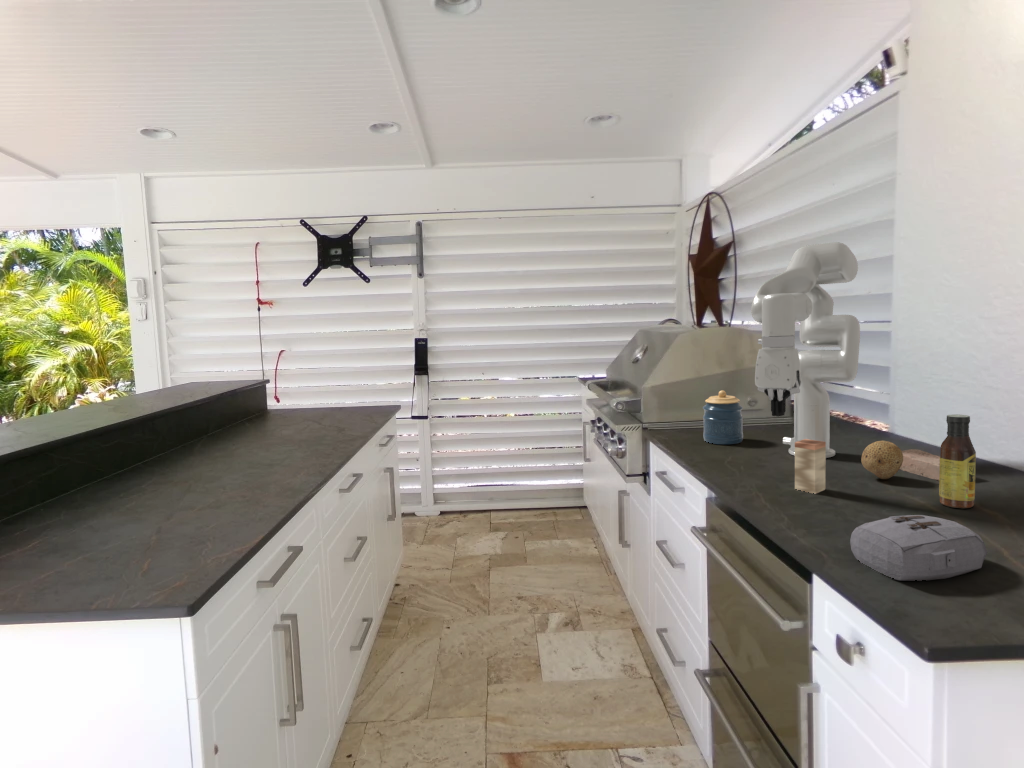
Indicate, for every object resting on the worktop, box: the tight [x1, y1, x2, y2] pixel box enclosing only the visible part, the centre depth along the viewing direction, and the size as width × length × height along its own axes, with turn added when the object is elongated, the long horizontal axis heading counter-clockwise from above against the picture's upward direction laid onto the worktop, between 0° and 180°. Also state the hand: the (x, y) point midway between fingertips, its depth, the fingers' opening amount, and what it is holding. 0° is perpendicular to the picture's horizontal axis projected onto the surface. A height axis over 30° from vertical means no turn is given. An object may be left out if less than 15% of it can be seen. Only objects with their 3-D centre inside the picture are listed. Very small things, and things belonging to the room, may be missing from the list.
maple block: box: [794, 439, 827, 495], centre depth 143 cm, size 5×5×12 cm
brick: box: [899, 448, 940, 481], centre depth 152 cm, size 17×8×5 cm, turn 11°
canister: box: [702, 389, 744, 445], centre depth 200 cm, size 13×13×18 cm
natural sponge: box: [860, 440, 903, 480], centre depth 148 cm, size 9×9×10 cm
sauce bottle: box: [938, 414, 977, 509], centre depth 127 cm, size 7×6×20 cm
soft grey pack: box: [849, 514, 988, 582], centre depth 101 cm, size 15×8×20 cm
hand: (778, 415), depth 148 cm, fingers closed
